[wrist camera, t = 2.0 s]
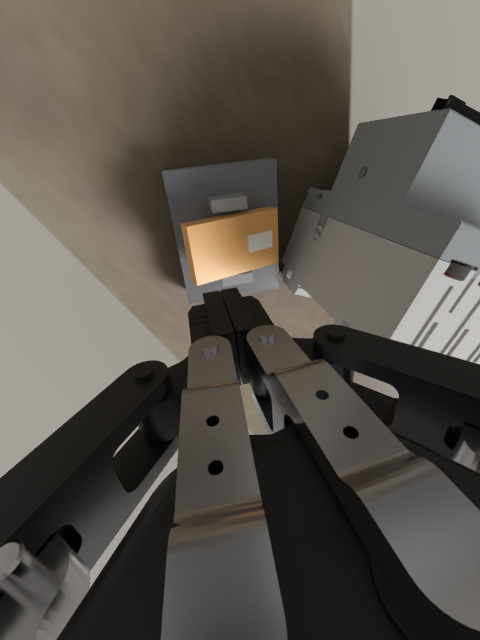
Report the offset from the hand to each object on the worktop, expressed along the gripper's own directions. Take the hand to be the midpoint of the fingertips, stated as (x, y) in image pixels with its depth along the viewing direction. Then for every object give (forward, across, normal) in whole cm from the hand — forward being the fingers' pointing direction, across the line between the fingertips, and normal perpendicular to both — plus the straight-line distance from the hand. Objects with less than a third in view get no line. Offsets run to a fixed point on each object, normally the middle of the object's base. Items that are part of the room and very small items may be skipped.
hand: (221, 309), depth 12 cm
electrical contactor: (+14, -13, 0) cm, 19 cm away
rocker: (+10, -2, 0) cm, 10 cm away
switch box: (+14, -2, 0) cm, 14 cm away
